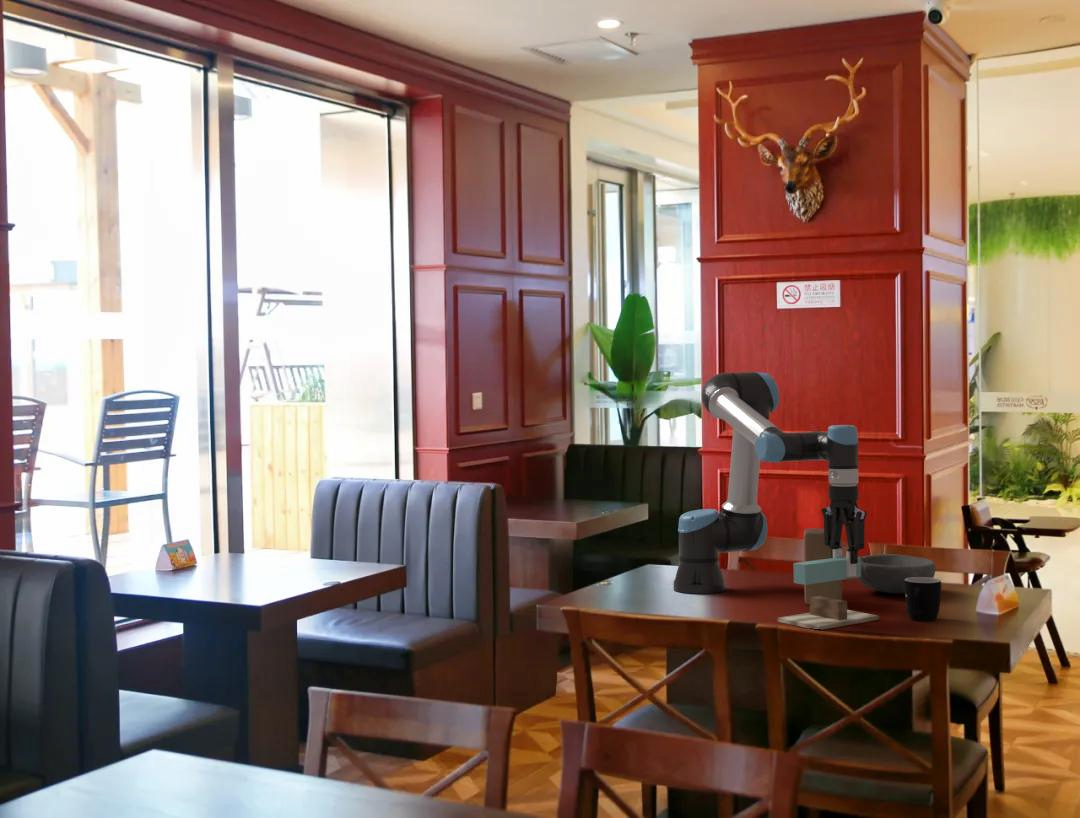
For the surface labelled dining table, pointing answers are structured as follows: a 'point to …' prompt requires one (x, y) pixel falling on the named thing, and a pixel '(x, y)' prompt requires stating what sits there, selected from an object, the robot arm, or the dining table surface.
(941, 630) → the dining table surface
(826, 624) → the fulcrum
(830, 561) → the bar
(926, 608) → the mug
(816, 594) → the wooden block
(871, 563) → the bowl
